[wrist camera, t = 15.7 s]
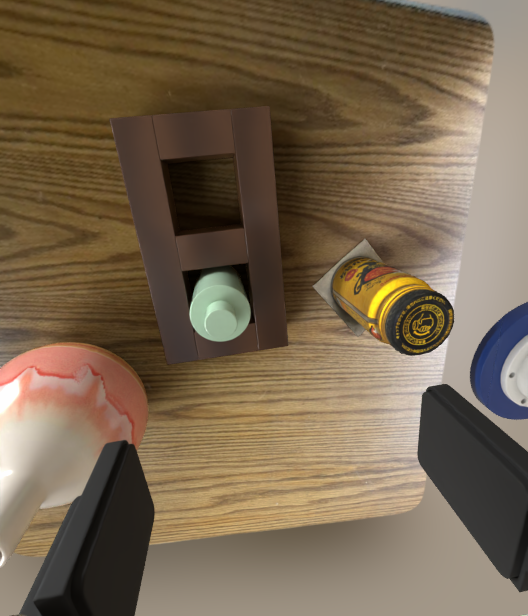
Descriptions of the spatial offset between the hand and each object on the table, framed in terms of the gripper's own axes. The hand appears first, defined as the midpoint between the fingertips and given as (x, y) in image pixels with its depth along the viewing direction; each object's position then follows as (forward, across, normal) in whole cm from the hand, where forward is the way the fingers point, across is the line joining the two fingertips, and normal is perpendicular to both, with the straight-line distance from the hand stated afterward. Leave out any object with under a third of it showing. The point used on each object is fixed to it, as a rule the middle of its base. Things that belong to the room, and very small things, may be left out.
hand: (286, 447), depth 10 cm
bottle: (+24, +2, +1) cm, 24 cm away
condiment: (+24, -13, +4) cm, 28 cm away
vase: (+24, +18, +10) cm, 31 cm away
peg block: (+24, +2, -3) cm, 24 cm away
